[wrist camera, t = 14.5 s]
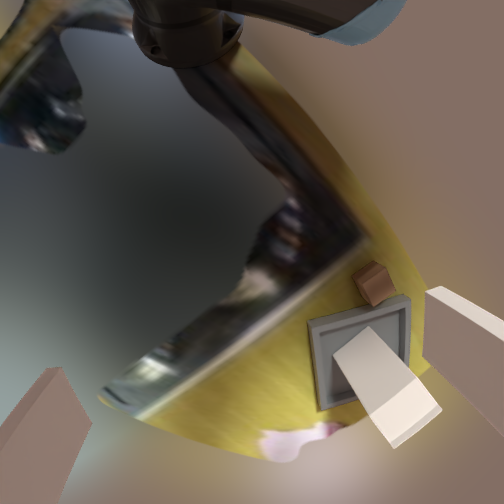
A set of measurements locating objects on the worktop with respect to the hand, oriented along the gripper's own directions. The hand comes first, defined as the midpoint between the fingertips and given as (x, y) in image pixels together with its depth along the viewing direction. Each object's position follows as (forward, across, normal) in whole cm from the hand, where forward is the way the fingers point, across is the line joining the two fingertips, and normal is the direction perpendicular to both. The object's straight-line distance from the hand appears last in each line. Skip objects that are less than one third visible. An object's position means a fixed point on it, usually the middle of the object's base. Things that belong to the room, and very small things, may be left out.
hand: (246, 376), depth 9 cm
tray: (+32, +16, -23) cm, 42 cm away
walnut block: (+32, +18, -11) cm, 38 cm away
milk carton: (+31, +16, -23) cm, 42 cm away
